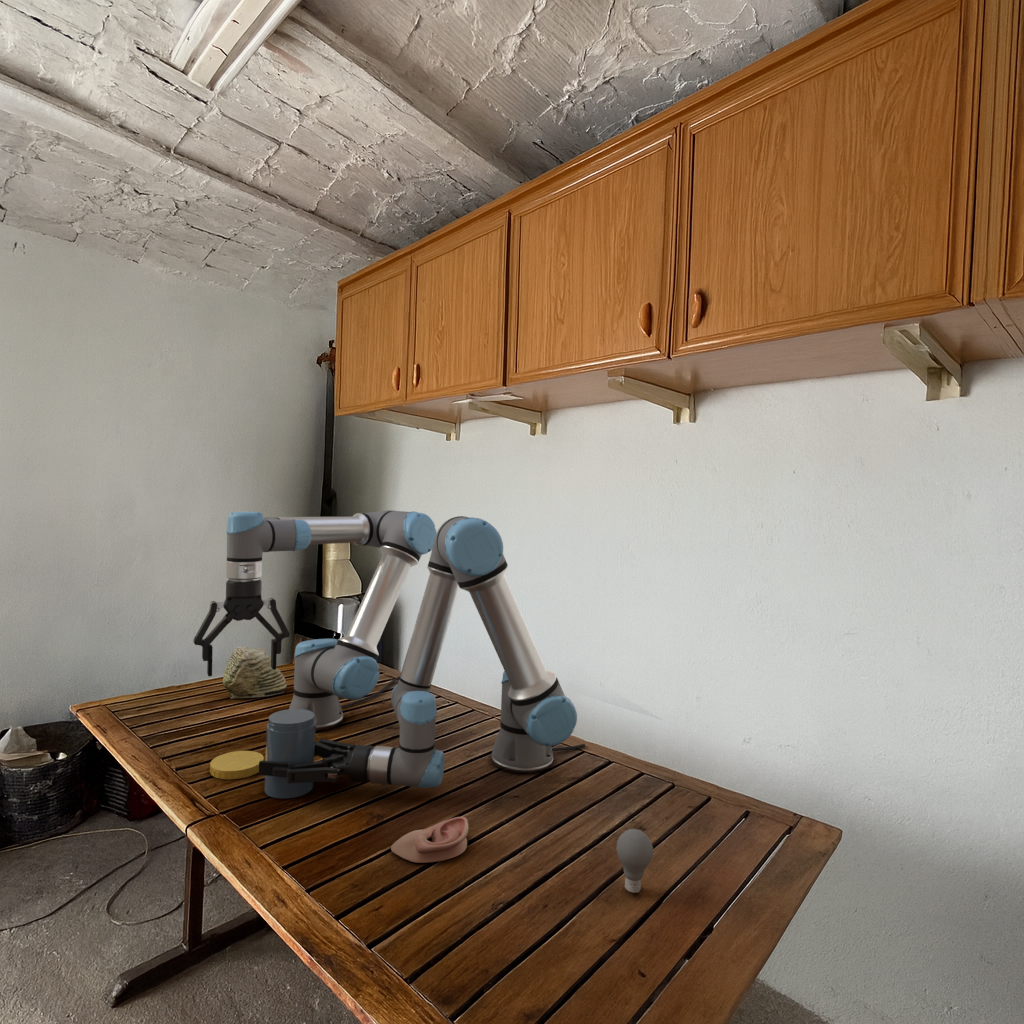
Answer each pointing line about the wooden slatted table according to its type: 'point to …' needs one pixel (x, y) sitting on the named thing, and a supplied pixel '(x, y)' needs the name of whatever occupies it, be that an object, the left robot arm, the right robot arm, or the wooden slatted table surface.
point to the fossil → (252, 675)
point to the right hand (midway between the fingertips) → (271, 757)
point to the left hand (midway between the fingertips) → (242, 671)
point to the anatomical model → (434, 842)
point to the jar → (289, 749)
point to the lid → (236, 765)
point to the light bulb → (634, 857)
